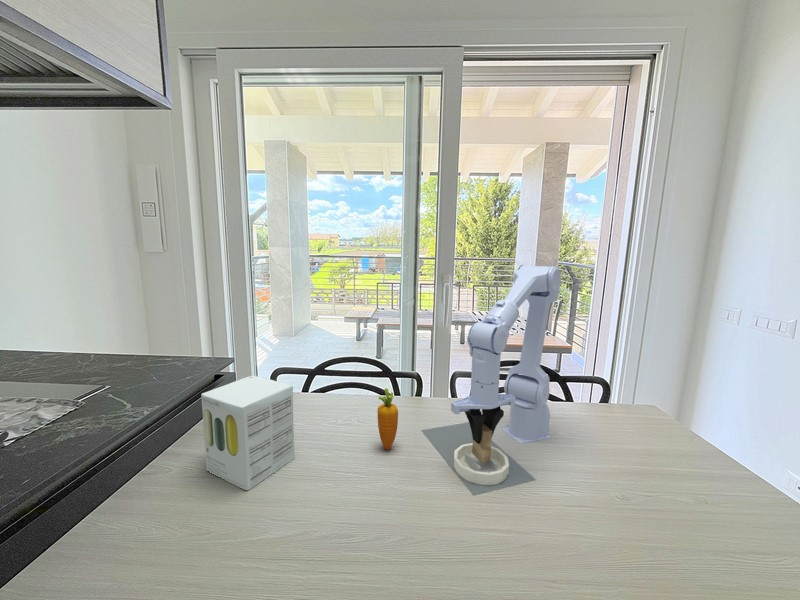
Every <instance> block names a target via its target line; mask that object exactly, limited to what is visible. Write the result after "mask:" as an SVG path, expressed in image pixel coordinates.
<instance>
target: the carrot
mask: <svg viewBox="0 0 800 600" xmlns="http://www.w3.org/2000/svg"><path fill="white" fill-rule="evenodd" d="M384 393H385V395H384V396H380V395H379V396H378V399H379V400H380V401H382V402H383V403H382V404H380V405H379V406H378V407H377V428H378V433H379V438H380V441H381V443H382V444H381V445H382V446H383V448H384V450H385V451H389V450H391V448H392V446H393V444H394V442H395V439H396V437H397V436H396V435H397V431H398V423H399V410H398V407H397V405H396V404H394V403H392V402H393V399H394V392H393V391H391V392H390V391H389V388H387V387H386V388H384Z"/></svg>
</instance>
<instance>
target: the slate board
mask: <svg viewBox="0 0 800 600" xmlns="http://www.w3.org/2000/svg"><path fill="white" fill-rule="evenodd" d="M420 431H421V432H422V434H423V435H424V436H425V437H426V439H427V440H428V441H429V442H430V444H432V446H433V447H434V449H435V450H436V451H437V452H438V454H439V455H440V456H441V457H442V459H443V460H444V461H445V463H447V464H448V466H449V467H450V469H451V470H452V471H453V472H454V474H455V475H456V476H457V477H458V479H459V480H460V481H461V483H463V485H464V486H465V487H466V489H467V490H468V491H469V492H470V494H471V495H472V497H473V496H477V495H482V494H485V493H489V492H493V491H498V490H501V489H505V488H511V487H515V486H517V485H522V484H526V483H529V482H534V481H537V479H536V478H535V477H534V476H533V475H532V474H531V473H530V472H528V471H527V470H526V469H525V468H523V466H521V464H519V463H518V462H517V461H516V460H515V459H514V458H513V457H511V455H509V454H508V453H507V452H506V451H505V450H503V448H502V447H500V446H499V445H497V443H495V442H494V441H493V440H491V446H492V447H494V448H497V449H499V450H500V451H501V452H503V453H504V454H505V455H506V456H507V457H508V462H509V474H508V475H507V478H506V479H505V480H504V481H503V482H502V483H500V484H497V485H492V486H483V485H477V484H473V483H471V482H468V481H466V480H464V479H463V478H461V477H460V476H459V475H458V474H457V473H456V471H455V469H454V452H455V450H456V449H457V448H458V447H460V446H461V445H464V444H470V443H473V437H472V431H471V427H470V424H469V421H468V422H463V423H456V424H452V425H450V424H449V425H444V426H439V427H438V426H437V427H432V428H426V429H421V430H420Z"/></svg>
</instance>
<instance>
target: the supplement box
mask: <svg viewBox="0 0 800 600" xmlns="http://www.w3.org/2000/svg"><path fill="white" fill-rule="evenodd" d="M293 391H294V389H293V384H292V385H291V384H288V383H284V382H280V381H278V380H277V381H276V380H274V379H268V378H264V377H261V376H257V375H253V374H252V375H249V376H247V377H243V378H241V379H238V380H235V381H233V382H230V383H227V384H225V385H221V386H219V387H217V388H213V389H211V390H208V391H205V392H202V393H201V395H200V396H201V409H202V420H203V421H202V424H203V436H204V438H203V440H204V450H205V452H204V454H205V469H206V472H207V471H209V472H210V473H209V472H208V473H209V474H211V473H212V474H211V475H213V474H214V475H213V476H215V475H216V477H217V476H218V478H219V477H221V478H222V479H221V478H220V479H221V480H223V479H225V480H224V481H225V482H228V483H230V484H232V485H234V486H236V487H237V488H240V489H243V490H245V491H246V490H247V491H250V490H251V489H252V488H255V486H257V485H258V484H260V483H261V482H262V481H264V480H265V479H267V478H268V477H269V476H271V475H272V474H274V473H275V472H277V471H278V470H279V469H281V468H283V467H284V466H286V465H287V464H288V463H290V462H291V461H293V460H295V457H296V456H295V437H294V436H295V434H294V433H295V431H294V427H295V426H294V395H293V394H294V392H293Z"/></svg>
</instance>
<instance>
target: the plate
mask: <svg viewBox="0 0 800 600" xmlns="http://www.w3.org/2000/svg"><path fill="white" fill-rule="evenodd" d="M472 444H473V443H470V444H464V445H461V446H460V447H458V448H457V449H456V450H455V452H454V469H455V471H456V473H457V474H458V475H459V476H460V477H461V478H463V479H464V480H466V481H468V482H471V483H473V484H477V485H483V486H492V485H497V484H500V483H502V482H503V481H504V480H505V479H506V478H507V475H508V474H509V462H508V457H507V456H506V455H505V454H504V453H503V452H501V451H500V450H499V449H497V448H494V447H492V446H491V456H490V462H486V463H481V462H480V461H479V460H478V459H477V458H476V456H475V455H474V454H473V453H472ZM456 473H455V474H456Z"/></svg>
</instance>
